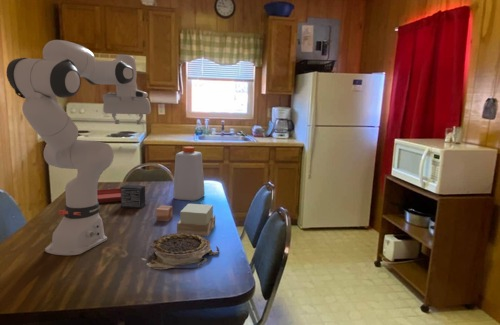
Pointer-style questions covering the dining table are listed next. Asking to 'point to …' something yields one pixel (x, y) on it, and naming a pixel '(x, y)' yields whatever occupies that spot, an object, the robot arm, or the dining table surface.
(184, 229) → the lower slab
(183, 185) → the plastic bottle
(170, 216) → the terracotta cube
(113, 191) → the plant saucer
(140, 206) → the small box
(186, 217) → the upper slab
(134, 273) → the dining table surface
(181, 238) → the pie
